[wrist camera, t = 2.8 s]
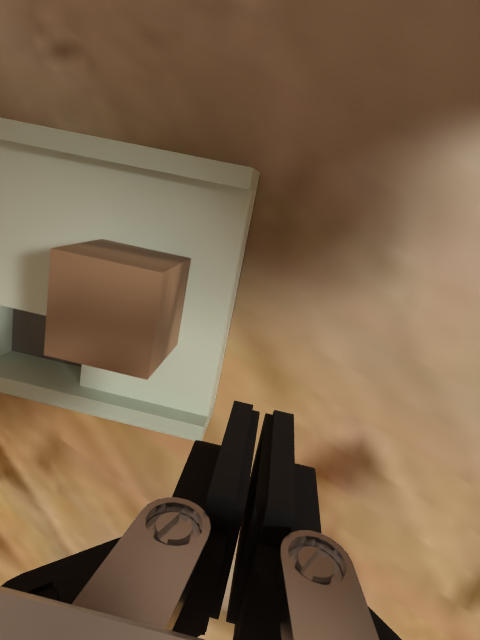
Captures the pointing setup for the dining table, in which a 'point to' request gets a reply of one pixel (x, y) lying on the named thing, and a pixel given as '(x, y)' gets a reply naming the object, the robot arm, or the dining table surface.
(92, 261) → the walnut block
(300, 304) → the dining table surface
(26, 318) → the trap board
